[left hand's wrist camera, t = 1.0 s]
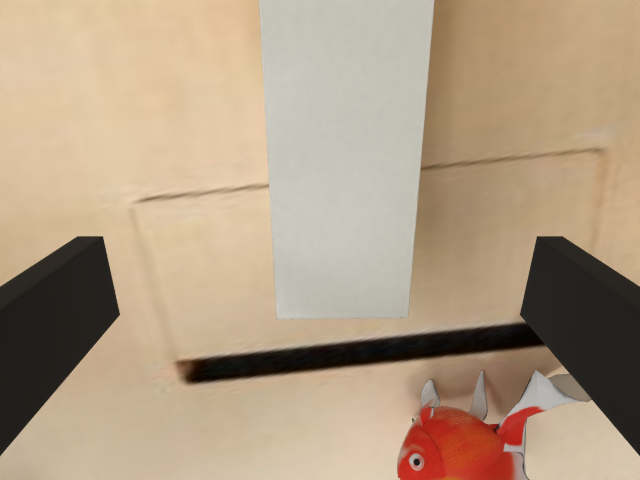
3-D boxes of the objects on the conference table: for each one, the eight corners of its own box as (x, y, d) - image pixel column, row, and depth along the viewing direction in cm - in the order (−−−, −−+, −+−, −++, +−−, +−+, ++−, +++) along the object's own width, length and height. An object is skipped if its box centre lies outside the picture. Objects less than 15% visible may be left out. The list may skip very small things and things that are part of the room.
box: (378, 240, 29) (408, 318, 19) (289, 241, 29) (276, 319, 19) (399, -196, 20) (471, -443, 11) (272, -195, 20) (233, -443, 11)
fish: (386, 356, 26) (494, 519, 20) (547, 295, 32) (671, 405, 26) (359, 430, 33) (432, 570, 27) (496, 369, 39) (584, 470, 33)
